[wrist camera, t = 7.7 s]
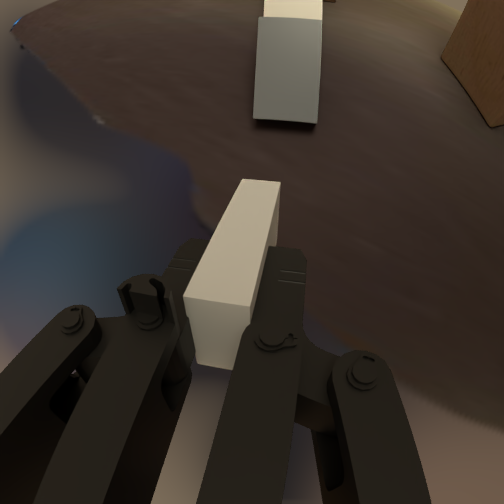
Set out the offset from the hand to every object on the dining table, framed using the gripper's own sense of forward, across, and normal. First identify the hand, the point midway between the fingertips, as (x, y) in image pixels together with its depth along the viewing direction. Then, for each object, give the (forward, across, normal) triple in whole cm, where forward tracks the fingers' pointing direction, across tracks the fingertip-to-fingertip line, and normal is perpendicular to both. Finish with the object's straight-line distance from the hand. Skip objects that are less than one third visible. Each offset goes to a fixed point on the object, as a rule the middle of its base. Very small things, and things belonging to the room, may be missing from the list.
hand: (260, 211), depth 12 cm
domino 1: (+14, 0, -1) cm, 14 cm away
